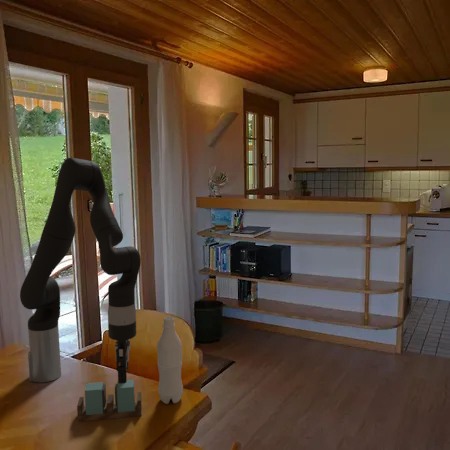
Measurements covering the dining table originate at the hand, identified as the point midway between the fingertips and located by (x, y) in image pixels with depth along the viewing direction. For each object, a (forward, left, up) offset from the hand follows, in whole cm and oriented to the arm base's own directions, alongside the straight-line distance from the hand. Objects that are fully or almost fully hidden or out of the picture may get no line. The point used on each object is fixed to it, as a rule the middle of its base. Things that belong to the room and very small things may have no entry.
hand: (123, 375), depth 132 cm
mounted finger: (-8, 0, -9) cm, 12 cm away
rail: (-4, 0, -11) cm, 12 cm away
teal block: (0, 0, -9) cm, 9 cm away
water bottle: (+13, +5, -11) cm, 18 cm away
